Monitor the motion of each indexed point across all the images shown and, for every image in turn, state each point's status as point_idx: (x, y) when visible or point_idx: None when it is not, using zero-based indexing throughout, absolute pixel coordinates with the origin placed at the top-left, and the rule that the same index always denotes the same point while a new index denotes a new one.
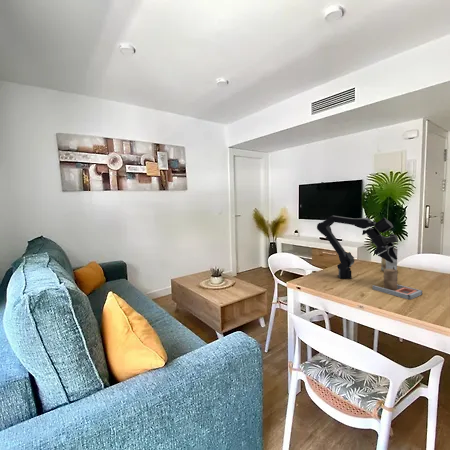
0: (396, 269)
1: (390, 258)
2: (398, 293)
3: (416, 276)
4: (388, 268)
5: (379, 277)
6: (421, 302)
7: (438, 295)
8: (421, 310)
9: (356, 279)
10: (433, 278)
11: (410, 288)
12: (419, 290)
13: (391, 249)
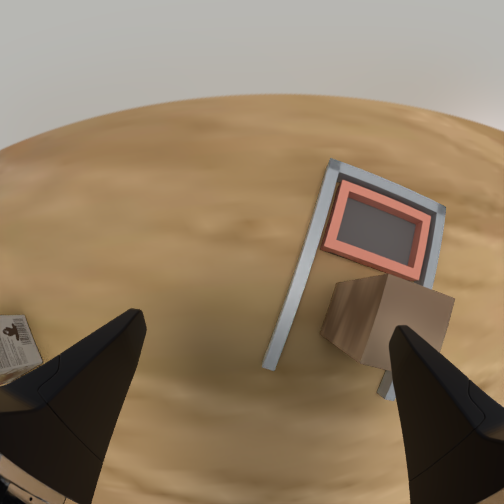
0: (10, 317)
1: (450, 367)
2: (436, 258)
3: (32, 228)
4: (361, 363)
5: (126, 400)
6: (431, 171)
7: (293, 112)
8: (491, 176)
9: (246, 493)
10: (41, 166)
11: (327, 212)
12: (339, 169)
13: (39, 436)
